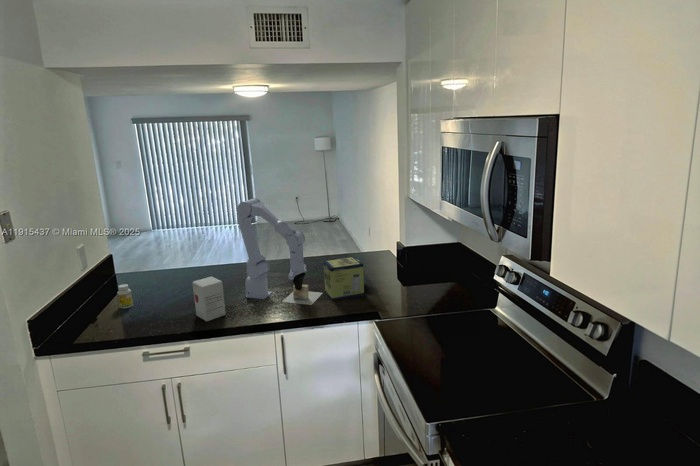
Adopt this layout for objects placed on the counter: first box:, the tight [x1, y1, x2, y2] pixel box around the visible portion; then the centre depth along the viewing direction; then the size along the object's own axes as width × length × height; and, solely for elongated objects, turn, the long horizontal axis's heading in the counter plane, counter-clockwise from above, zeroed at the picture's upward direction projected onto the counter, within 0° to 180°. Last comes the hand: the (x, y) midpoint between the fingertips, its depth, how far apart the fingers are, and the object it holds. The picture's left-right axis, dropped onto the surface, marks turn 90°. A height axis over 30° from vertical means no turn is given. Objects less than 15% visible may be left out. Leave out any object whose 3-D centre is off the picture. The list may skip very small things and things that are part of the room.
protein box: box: [323, 256, 365, 301], centre depth 203 cm, size 10×16×16 cm
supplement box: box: [192, 276, 226, 322], centre depth 186 cm, size 9×9×15 cm
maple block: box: [292, 284, 310, 300], centre depth 200 cm, size 6×3×6 cm, turn 73°
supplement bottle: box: [116, 283, 134, 309], centre depth 198 cm, size 5×5×10 cm
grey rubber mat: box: [281, 290, 323, 306], centre depth 203 cm, size 14×14×1 cm
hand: (298, 289), depth 198 cm, fingers closed
